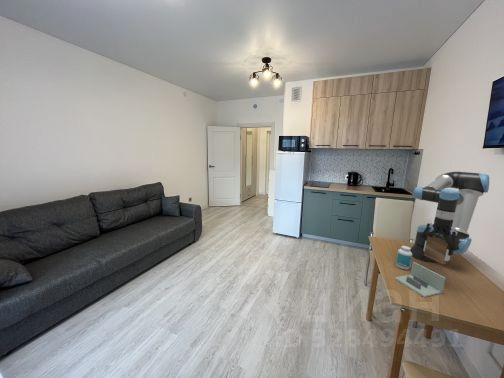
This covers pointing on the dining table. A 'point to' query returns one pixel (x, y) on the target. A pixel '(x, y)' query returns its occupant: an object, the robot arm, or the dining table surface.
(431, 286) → the pale green l-shaped piece
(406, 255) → the pill bottle
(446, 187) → the robot arm
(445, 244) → the door panel
